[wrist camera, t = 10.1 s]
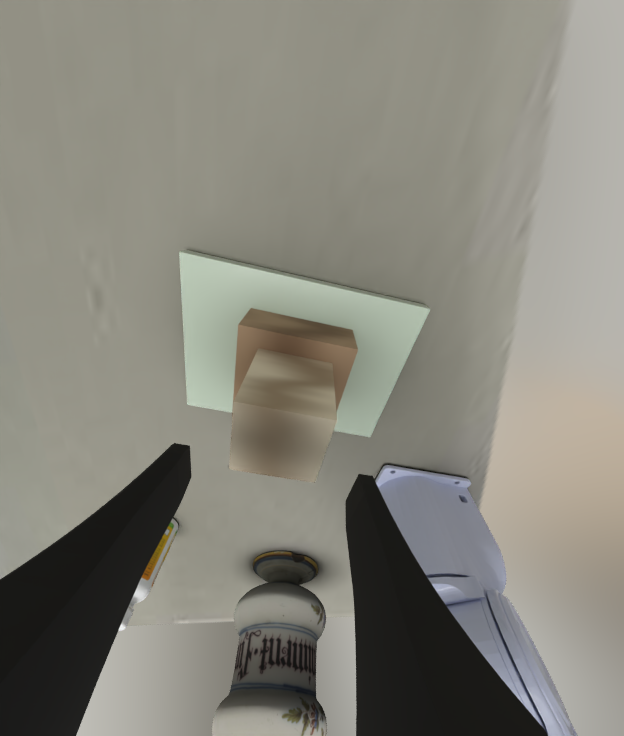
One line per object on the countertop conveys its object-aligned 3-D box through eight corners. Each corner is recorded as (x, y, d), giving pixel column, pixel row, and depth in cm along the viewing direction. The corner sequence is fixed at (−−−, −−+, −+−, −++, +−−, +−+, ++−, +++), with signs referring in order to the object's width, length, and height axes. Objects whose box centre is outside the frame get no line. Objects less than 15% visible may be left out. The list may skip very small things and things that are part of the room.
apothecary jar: (337, 556, 36) (349, 806, 21) (310, 587, 42) (304, 800, 27) (254, 539, 35) (202, 800, 19) (239, 575, 41) (189, 795, 25)
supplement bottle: (130, 509, 32) (61, 614, 23) (172, 510, 31) (118, 616, 23) (145, 532, 34) (89, 633, 26) (184, 532, 34) (140, 635, 26)
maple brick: (332, 363, 15) (337, 420, 11) (316, 417, 18) (314, 482, 13) (258, 348, 15) (233, 401, 11) (251, 406, 17) (228, 469, 13)
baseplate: (425, 304, 17) (430, 309, 16) (368, 429, 23) (370, 437, 23) (186, 249, 16) (179, 251, 15) (192, 397, 22) (187, 404, 21)
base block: (352, 329, 17) (358, 349, 15) (327, 407, 21) (328, 433, 18) (250, 307, 17) (238, 324, 14) (243, 391, 20) (232, 416, 18)
